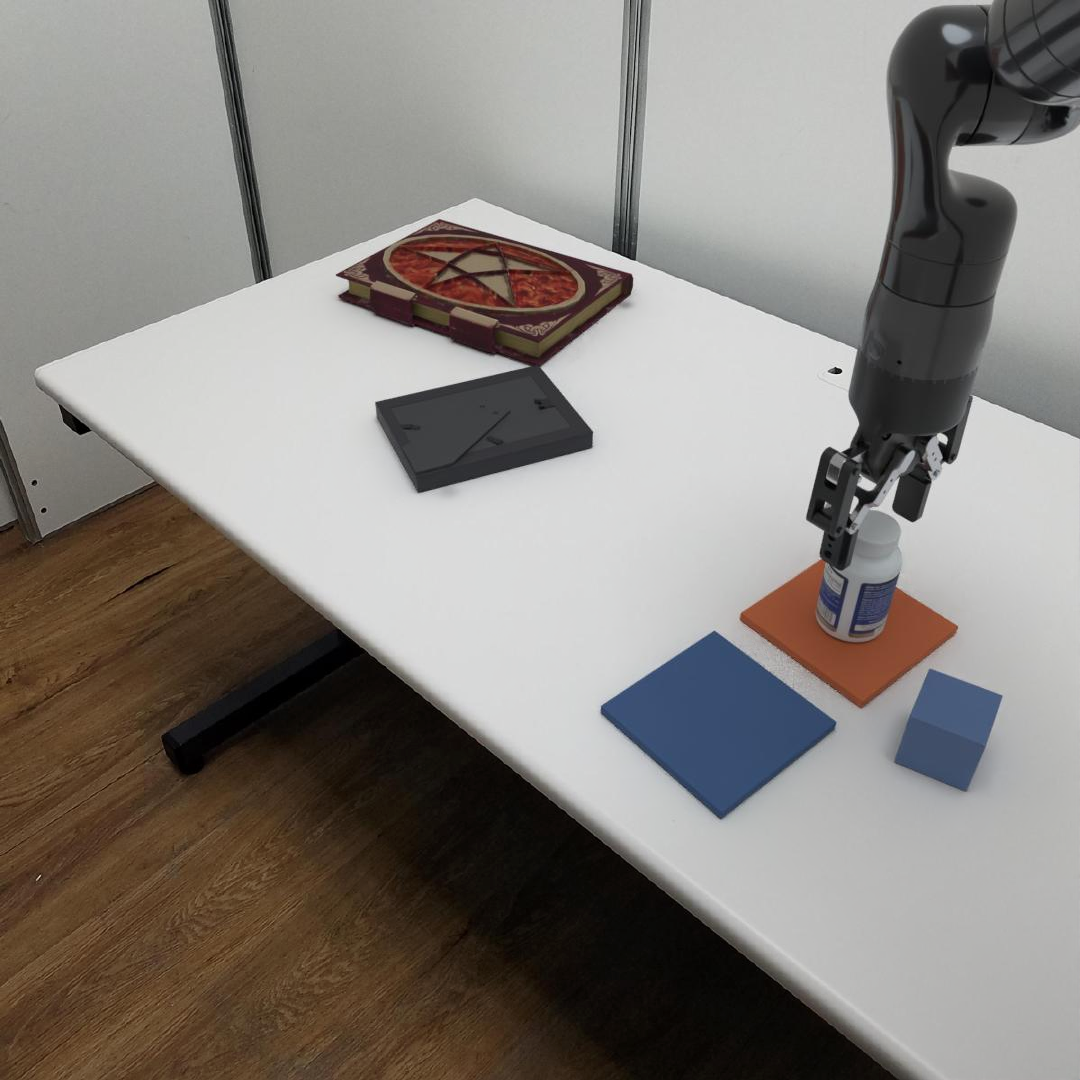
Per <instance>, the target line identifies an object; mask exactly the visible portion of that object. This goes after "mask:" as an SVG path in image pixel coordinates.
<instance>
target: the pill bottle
mask: <svg viewBox="0 0 1080 1080" xmlns="http://www.w3.org/2000/svg"><path fill="white" fill-rule="evenodd" d="M858 529H859V531H858V535H857V540H856V544H855V548H854V552H853V556H852V560H851V564H850V566H849V567H847V568H846V569H844V570H842V571H839V570H837V569H836V568H834V567H833V566H831V565H830V564H828V563H826V564H825V569H824V573H823V578H822V582H821V587H820V592H819V596H818V601H817V607H816V619H817V621H818V623H819V625H820V626H821V627H822V628H823V629H824V631H826V632H827V633H828V634H830V635H831V636H833V637H835V638H838V639H840V640H843V641H847V642H866V641H869V640H871V639H874V638H876V637H877V636H878V635H879V634H880V633H881V632H882V630H883V628H884V625H885V623H886V620H887V616H888V612H889V609H890V605H891V602H892V598H893V595H894V591H895V588H896V587H897V584H898V580H899V577H900V574H901V570H902V566H903V562H904V558H903V553H902V551H901V549H900V547H899V543H900V538H901V535H902V529H901V525H900V523H899V522H898V521H897V520H896V518H894V517H893V516H891V515H890V514H888V513H885V512H884V511H880V510H876V509H870V510H869V511H868V513H867V515H866V516H865V518H864V520H863V521H862V523H861V525H860V526H859V528H858Z"/></svg>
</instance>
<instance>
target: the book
mask: <svg viewBox="0 0 1080 1080" xmlns="http://www.w3.org/2000/svg"><path fill="white" fill-rule="evenodd" d="M335 276H336V277H338V278H340V279H343V280H346V281H347V282H348V289H347V290H345V291H342V292H341V293H339V294H338V299H341V300H344V301H347V302H350V303H352V304H356V305H358V306H360V307H361V306H362V307H364V308H368V309H370V310H371V311H372V313H374V314H377V315H378V316H382V317H385V318H389V319H391V320H394V321H397V322H400V323H403V324H406V325H409V326H412V327H415V326H416V325H417V326H420V327H423V328H425V329H429V330H432V331H434V332H437V333H441V334H444V335H446V336H450V340H453V341H455V342H458V343H461V344H464V345H466V346H470V347H473V348H476V349H477V350H478V349H479V350H481V351H483V352H488V353H490V354H493V355H496V354H497V353H499V354H501V355H505V356H508V357H511V358H513V359H516V360H520V361H523V362H525V363H529V364H531V365H533V366H535V365H539V366H540V365H542V364H543V363H544V362H545V361H547V360H548V359H550V358H551V357H552V356H553V355H555V354H556V353H557V352H558V351H560V350H561V349H562V348H564V347H565V346H567V344H569V343H570V342H571V341H573V340H574V339H575V338H576V337H578V336H579V335H580V334H582V333H583V332H584V331H585V330H587V329H588V328H589V327H590V326H592V325H593V324H594V323H596V322H597V321H599V319H601V318H602V317H604V316H605V315H606V314H607V313H608V312H610V311H612V309H614V308H615V307H616V306H617V305H619V304H621V302H623V301H624V300H625V299H627V298H628V297H629V296H630V295H631V293H632V291H633V289H634V276H633V274H632V273H630V272H626V271H623V270H620V269H616V268H613V267H609V266H605V265H602V264H599V263H595V262H592V261H588V260H584V259H582V258H578V257H574V256H570V255H567V254H564V253H560V252H557V251H553V250H549V249H545V248H543V247H540V246H535V245H532V244H529V243H524V242H521V241H517V240H514V239H511V238H507V237H504V236H501V235H497V234H493V233H490V232H486V231H483V230H479V229H477V228H474V227H473V228H472V227H469V226H465V225H461V224H458V223H455V222H453V221H448V220H445V219H441V218H438V219H436V220H435V221H432V222H431V223H429V224H427V225H425V226H423V227H422V228H419V229H417V230H416V231H414V232H412V233H410V234H408V235H406V236H405V237H402V238H401V239H399V240H396V241H395V242H393V243H392V244H389V245H388V246H386V247H384V248H382V249H381V250H378V251H377V252H375V253H373V254H371V255H369V256H367V257H366V258H364V259H362V260H360V261H358V262H356V263H354V264H353V265H350V266H348V267H347V268H345V269H343V270H341V271H339V272H338V273H335Z"/></svg>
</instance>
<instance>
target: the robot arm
mask: <svg viewBox="0 0 1080 1080" xmlns="http://www.w3.org/2000/svg"><path fill="white" fill-rule="evenodd" d="M885 98H886V99H885V100H886V109H887V118H888V119H887V121H888V129H889V138H890V139H889V140H890V152H891V154H890V155H891V195H890V196H891V198H890V212H889V220H888V223H887V227H886V233H885V238H884V243H883V248H882V252H881V258H880V261H879V267H878V270H877V271H878V272H877V275H876V279H875V281H874V285H873V287H872V289H871V292H870V295H869V298H868V301H867V304H866V307H865V312H864V316H863V321H862V326H861V331H860V335H859V339H858V344H857V350H856V355H855V359H854V363H853V368H852V374H851V379H850V383H849V387H848V391H847V393H848V396H847V397H848V401H849V404H850V406H851V408H852V410H853V412H854V414H855V416H856V419H857V421H858V426H857V429H856V431H855V433H854V435H853V437H852V439H851V441H850V443H849V447H848V448H846V449H845V450H843V451H839V450H837V449H835V448H833V447H831V446H828V447H826V448H825V449H823V452H822V453H821V455H820V458H819V462H818V465H817V470H816V474H815V479H814V483H813V487H812V491H811V493H810V494H811V495H810V499H809V502H808V507H807V511H806V515H805V521H806V522H809V523H810V524H812V525H813V526H815V527H817V528H818V529H819V530H822V531H823V534H822V539H821V543H820V549H819V554H818V555H819V557H820V558H821V559H822V560H823V561H825V562H826V563H828V564H830V565H831V566H833V567H834V568H836V569H837V570H839V571H842V570H844V569H846V568H847V567H849V566H850V564H851V560H852V556H853V552H854V548H855V544H856V540H857V535H858V531H859V529H858V528H859V526H860V525H861V523H862V521H863V520H864V518H865V516H866V515H867V513H868V511H869V510H871V509H872V508H877V507H880V506H881V505H882V504H883V502H884V500H885V499H886V497H887V495H888V494H889V493H890V491H891V489H892V487H893V486H894V485H895V483H896V481H897V480H898V482H897V486H896V490H895V493H894V497H893V501H892V504H891V508H892V511H893V512H894V513H895V514H896V515H898V516H900V517H901V518H903V519H905V520H906V521H908V522H910V523H915V522H917V521H919V520H920V519H922V517H923V516H924V515H923V514H924V511H925V507H926V504H927V500H928V497H929V495H930V490H931V487H932V484H933V481H934V482H935V481H936V480H937V479H938V478H939V477H940V476H941V473H942V470H943V466H942V465H943V464H944V463H945V464H948V465H952V464H953V463H954V462H956V460H957V458H958V456H959V452H960V449H961V444H962V442H963V437H964V434H965V430H966V426H967V422H968V419H969V415H970V412H971V407H972V403H973V401H974V400H973V399H974V396H973V395H971V394H972V390H973V386H974V383H975V380H976V377H977V373H978V370H979V367H980V363H981V360H982V356H983V352H984V349H985V347H986V343H987V339H988V336H989V333H990V329H991V326H992V320H993V315H994V314H993V313H994V307H995V299H996V294H997V290H998V288H999V284H1000V281H1001V277H1002V274H1003V271H1004V267H1005V264H1006V261H1007V257H1008V255H1009V250H1010V247H1011V244H1012V239H1013V238H1014V237H1013V236H1014V233H1015V229H1016V225H1017V219H1018V204H1017V201H1016V197H1015V196H1014V195H1013V194H1012V192H1011V191H1009V189H1008V188H1006V187H1005V186H1004V185H1002V184H1000V183H998V182H996V181H994V180H991V179H988V178H986V177H982V176H979V175H975V174H971V173H967V172H962V171H957V170H954V169H950V168H949V162H950V161H949V160H950V155H951V152H952V150H953V148H955V147H992V146H993V147H995V146H998V147H1000V146H1029V145H1037V144H1042V143H1047V142H1049V141H1050V142H1051V141H1054V140H1057V139H1060V138H1061V137H1064V136H1066V135H1069V134H1071V133H1072V132H1073V131H1074V130H1076V129H1077V128H1078V127H1079V126H1080V0H993V1H992V2H991V4H948V5H947V4H946V5H945V4H943V5H939V6H933V7H932V6H931V7H929V8H927V9H925V10H923V11H921V12H920V13H918V14H917V15H916V16H915V17H913V18H912V19H911V21H909V23H908V24H907V25H906V26H905V27H904V28H903V30H902V31H901V33H900V34H899V36H898V37H897V39H896V41H895V43H894V45H893V47H892V50H891V52H890V55H889V58H888V62H887V67H886V75H885ZM939 434H942V435H943V436H945V437H946V438H947V440H946V443H944V442H943V441H941V440H939V438H938V435H939ZM863 478H864V479H865V480H868V481H870V482H872V483H873V484H875V486H874V487H873V489H871V490H868V489H866V488H864V487H862V486H861V485H859V484H860V483H861V482H862V480H863ZM854 498H856V499H857V501H858V502H857V504H856V505H855V507H854V509H853V510H852V512H851V508H852V505H853V501H854Z"/></svg>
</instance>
